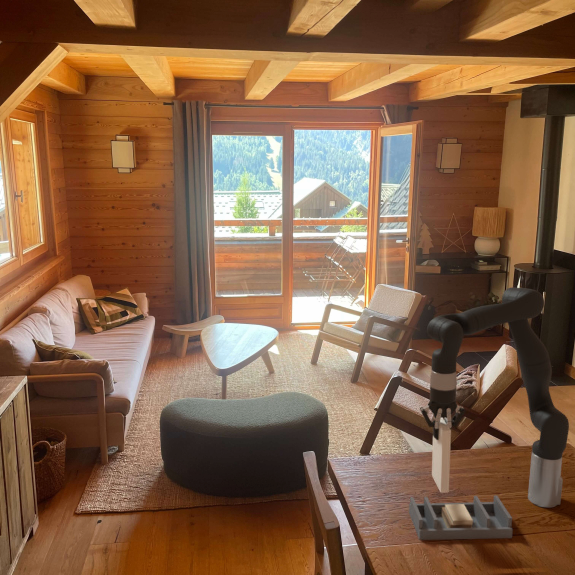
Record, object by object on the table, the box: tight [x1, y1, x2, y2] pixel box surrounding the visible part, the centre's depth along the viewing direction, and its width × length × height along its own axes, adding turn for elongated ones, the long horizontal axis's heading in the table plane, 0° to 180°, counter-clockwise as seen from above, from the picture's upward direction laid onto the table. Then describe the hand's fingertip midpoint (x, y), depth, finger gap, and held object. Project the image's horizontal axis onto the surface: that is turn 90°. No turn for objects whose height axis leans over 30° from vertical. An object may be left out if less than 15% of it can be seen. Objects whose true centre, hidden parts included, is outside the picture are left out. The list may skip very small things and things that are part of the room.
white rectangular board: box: [431, 417, 452, 494], centre depth 174 cm, size 2×10×20 cm, turn 1°
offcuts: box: [441, 504, 473, 528], centre depth 179 cm, size 7×10×4 cm
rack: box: [408, 494, 513, 541], centre depth 179 cm, size 28×14×7 cm, turn 91°
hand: (441, 438), depth 173 cm, fingers closed on white rectangular board, 2 cm apart
